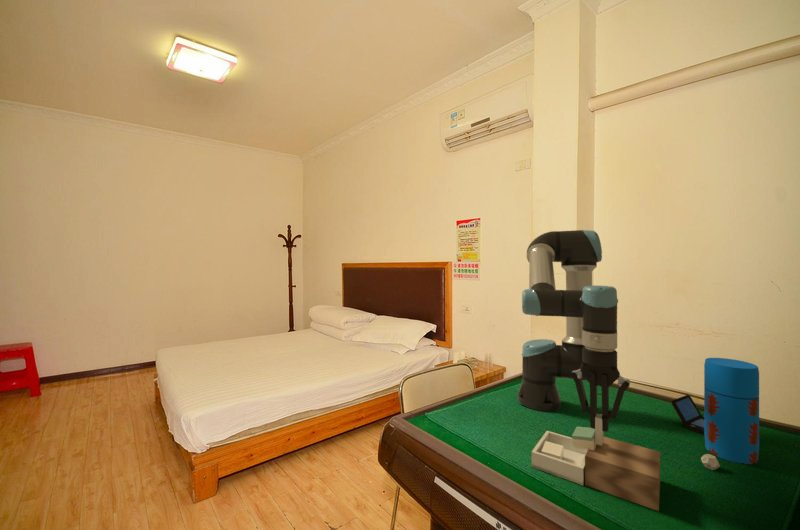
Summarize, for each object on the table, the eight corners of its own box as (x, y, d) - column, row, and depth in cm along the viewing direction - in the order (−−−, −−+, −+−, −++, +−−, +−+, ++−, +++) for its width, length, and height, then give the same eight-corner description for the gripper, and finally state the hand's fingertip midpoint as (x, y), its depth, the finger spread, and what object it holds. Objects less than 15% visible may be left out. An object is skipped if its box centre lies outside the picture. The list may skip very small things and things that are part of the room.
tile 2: (574, 447, 86) (571, 435, 86) (579, 438, 91) (576, 426, 91) (594, 450, 83) (591, 437, 83) (598, 440, 88) (595, 428, 88)
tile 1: (560, 456, 87) (560, 468, 87) (563, 445, 92) (563, 456, 92) (541, 451, 89) (541, 462, 89) (545, 440, 94) (545, 451, 94)
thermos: (694, 443, 99) (694, 358, 99) (727, 442, 100) (727, 356, 100) (733, 466, 89) (733, 369, 88) (771, 463, 90) (771, 368, 89)
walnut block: (585, 485, 81) (585, 455, 81) (594, 460, 92) (594, 434, 92) (658, 511, 73) (658, 478, 73) (660, 480, 83) (660, 451, 83)
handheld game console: (711, 438, 103) (711, 413, 103) (669, 423, 113) (669, 400, 113) (729, 428, 109) (729, 405, 109) (688, 415, 119) (688, 393, 119)
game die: (700, 461, 91) (700, 450, 91) (719, 467, 88) (719, 455, 88) (700, 468, 88) (700, 456, 88) (720, 473, 86) (720, 461, 86)
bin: (531, 467, 89) (531, 451, 89) (546, 444, 100) (546, 430, 100) (583, 485, 81) (583, 468, 81) (593, 458, 92) (593, 444, 92)
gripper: (567, 347, 86) (567, 440, 86) (629, 355, 78) (629, 458, 78) (573, 341, 92) (573, 428, 92) (632, 348, 84) (632, 444, 84)
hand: (599, 442), depth 85 cm, fingers closed
